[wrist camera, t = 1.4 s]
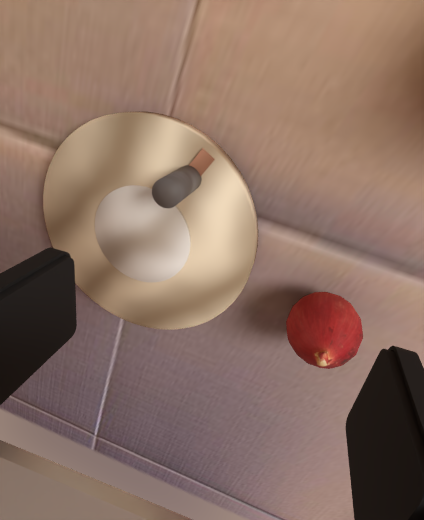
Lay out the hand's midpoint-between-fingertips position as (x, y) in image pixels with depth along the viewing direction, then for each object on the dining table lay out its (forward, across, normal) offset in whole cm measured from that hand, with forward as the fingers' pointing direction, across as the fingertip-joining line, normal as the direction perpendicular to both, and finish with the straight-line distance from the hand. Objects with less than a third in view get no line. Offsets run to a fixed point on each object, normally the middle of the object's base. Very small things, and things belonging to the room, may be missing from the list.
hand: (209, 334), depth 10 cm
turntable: (+20, +10, +6) cm, 23 cm away
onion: (+20, -6, +9) cm, 23 cm away
